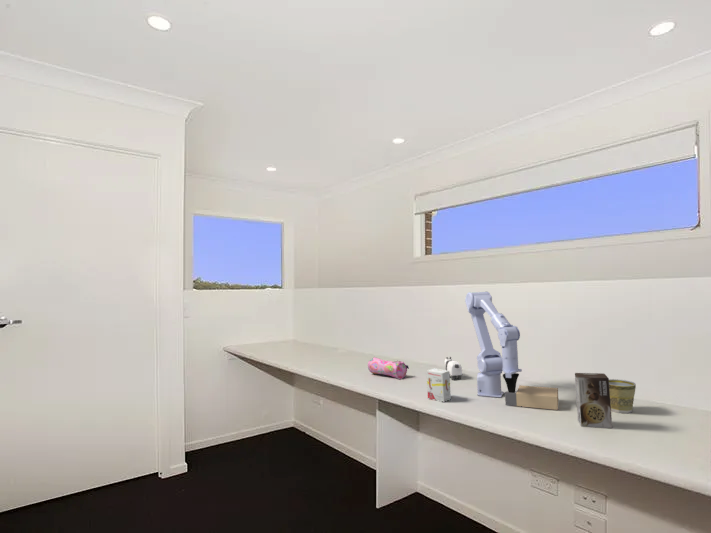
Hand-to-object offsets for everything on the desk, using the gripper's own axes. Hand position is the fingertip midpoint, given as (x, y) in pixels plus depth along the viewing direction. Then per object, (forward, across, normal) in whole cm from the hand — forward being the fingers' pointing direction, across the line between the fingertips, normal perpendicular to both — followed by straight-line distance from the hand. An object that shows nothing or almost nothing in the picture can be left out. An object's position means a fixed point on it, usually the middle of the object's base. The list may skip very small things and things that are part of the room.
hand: (511, 392), depth 162 cm
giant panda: (+4, +36, +32) cm, 48 cm away
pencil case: (+4, +29, +64) cm, 71 cm away
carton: (+4, +4, -9) cm, 10 cm away
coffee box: (+5, -14, -27) cm, 31 cm away
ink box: (+4, -3, +28) cm, 29 cm away
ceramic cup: (+4, +6, -37) cm, 38 cm away
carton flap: (+4, -3, -7) cm, 8 cm away
